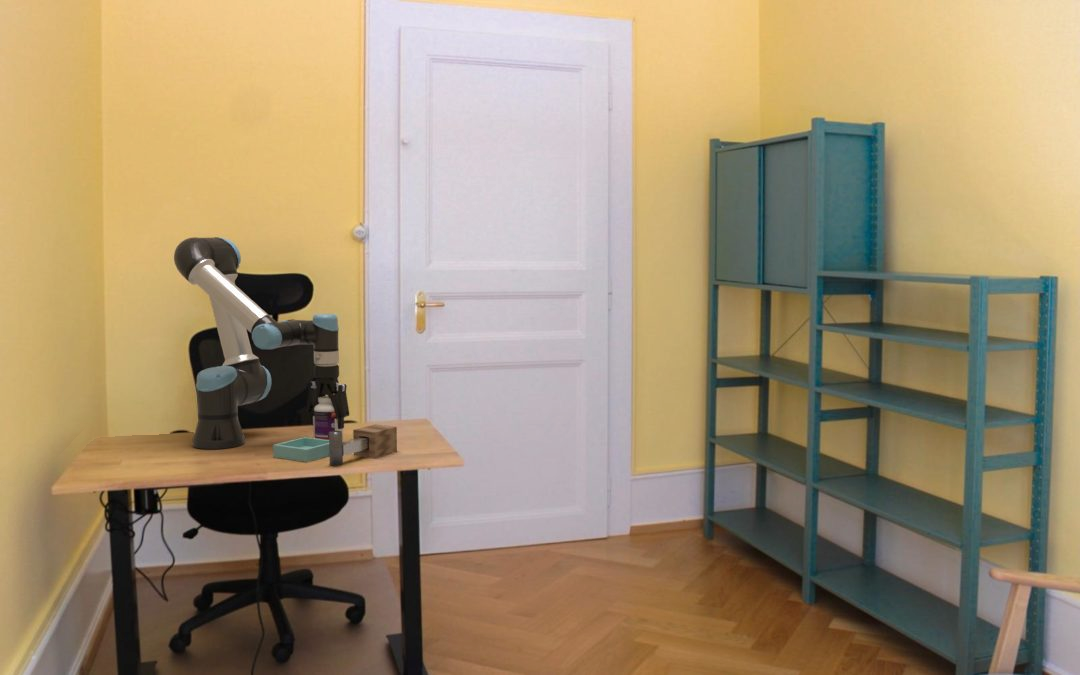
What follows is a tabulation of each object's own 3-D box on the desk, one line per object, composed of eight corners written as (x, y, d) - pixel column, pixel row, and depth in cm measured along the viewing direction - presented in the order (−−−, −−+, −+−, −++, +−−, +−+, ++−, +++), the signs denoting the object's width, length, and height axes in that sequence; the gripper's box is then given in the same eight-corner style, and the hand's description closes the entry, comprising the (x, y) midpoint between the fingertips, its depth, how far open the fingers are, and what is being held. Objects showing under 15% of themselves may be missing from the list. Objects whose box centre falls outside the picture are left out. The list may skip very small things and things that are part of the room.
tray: (273, 457, 277) (272, 444, 276) (305, 448, 288) (304, 437, 288) (306, 462, 270) (306, 449, 270) (338, 453, 282) (337, 441, 281)
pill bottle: (335, 446, 291) (334, 399, 290) (310, 445, 293) (309, 398, 291) (345, 441, 299) (344, 395, 298) (321, 440, 301) (320, 394, 299)
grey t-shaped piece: (336, 466, 264) (336, 433, 264) (326, 464, 266) (326, 432, 265) (377, 454, 279) (376, 423, 279) (367, 452, 281) (367, 422, 280)
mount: (375, 458, 275) (374, 432, 275) (353, 455, 279) (353, 429, 279) (397, 451, 284) (396, 426, 283) (375, 448, 288) (375, 424, 287)
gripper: (292, 363, 295) (294, 436, 298) (344, 368, 285) (345, 443, 287) (309, 361, 302) (311, 432, 304) (360, 365, 292) (362, 438, 294)
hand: (328, 437), depth 296 cm, fingers closed on pill bottle, 8 cm apart
